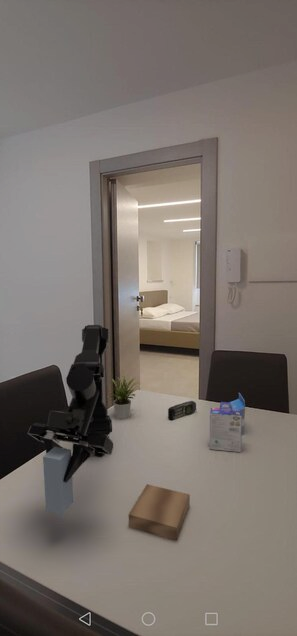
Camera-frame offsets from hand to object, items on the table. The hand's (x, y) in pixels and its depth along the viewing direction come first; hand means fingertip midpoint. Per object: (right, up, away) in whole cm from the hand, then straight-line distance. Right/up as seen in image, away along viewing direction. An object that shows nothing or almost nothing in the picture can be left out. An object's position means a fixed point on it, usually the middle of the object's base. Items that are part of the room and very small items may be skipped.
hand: (55, 480), depth 66 cm
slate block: (0, -6, +2) cm, 7 cm away
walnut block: (+22, -13, +8) cm, 27 cm away
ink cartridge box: (+44, -9, +38) cm, 59 cm away
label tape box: (+51, -7, +50) cm, 72 cm away
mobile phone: (+33, -6, +62) cm, 71 cm away
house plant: (+10, -6, +61) cm, 62 cm away
